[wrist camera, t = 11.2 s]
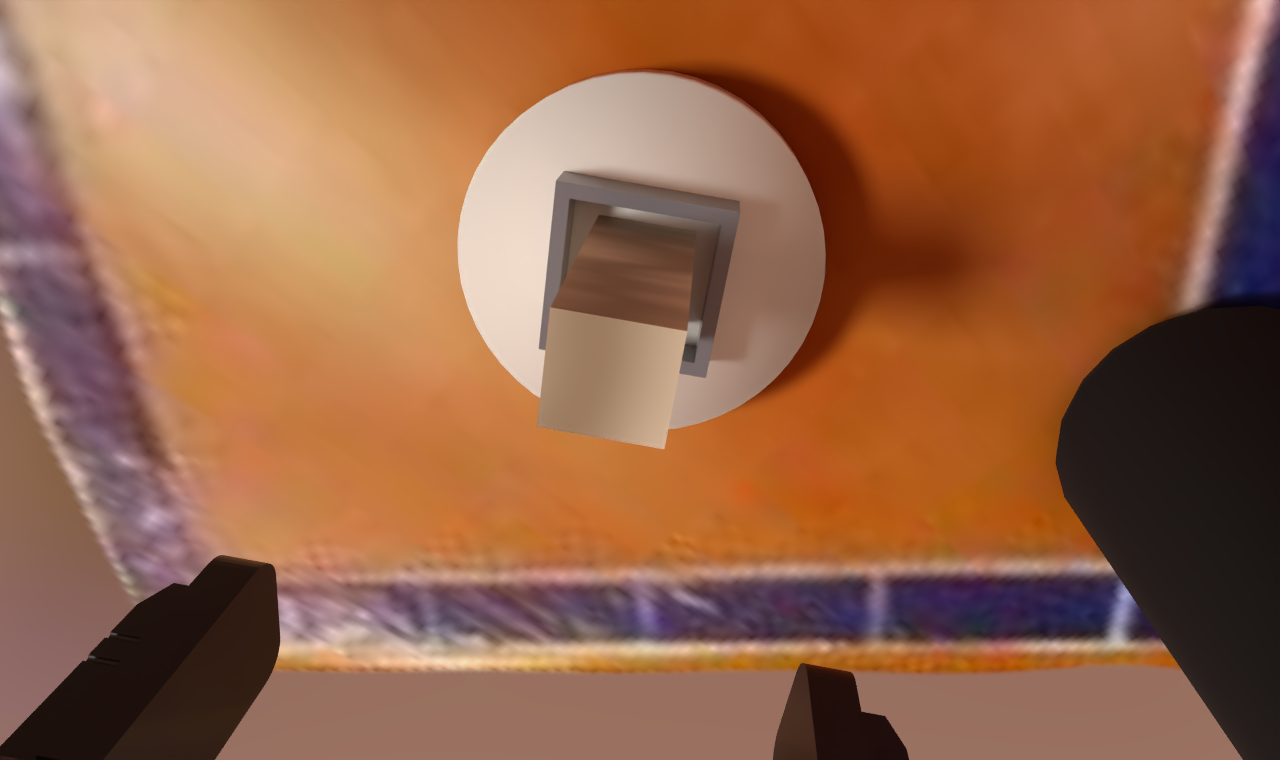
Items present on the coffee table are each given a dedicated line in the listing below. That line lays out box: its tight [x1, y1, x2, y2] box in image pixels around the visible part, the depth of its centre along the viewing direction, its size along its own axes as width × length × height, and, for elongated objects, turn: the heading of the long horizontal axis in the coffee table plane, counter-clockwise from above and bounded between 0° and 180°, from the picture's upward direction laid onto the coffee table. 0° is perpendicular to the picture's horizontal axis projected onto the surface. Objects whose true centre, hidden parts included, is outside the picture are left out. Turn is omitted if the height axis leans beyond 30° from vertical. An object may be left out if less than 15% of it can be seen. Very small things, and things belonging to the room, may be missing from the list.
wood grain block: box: [537, 215, 696, 449], centre depth 24 cm, size 3×3×9 cm
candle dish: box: [458, 69, 826, 429], centre depth 29 cm, size 13×13×4 cm
